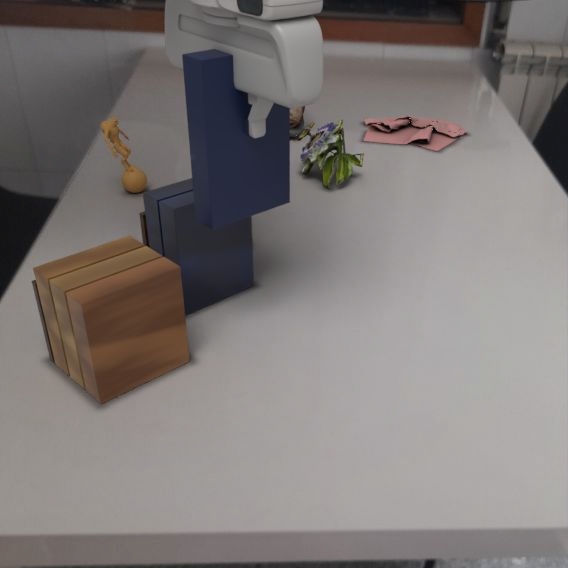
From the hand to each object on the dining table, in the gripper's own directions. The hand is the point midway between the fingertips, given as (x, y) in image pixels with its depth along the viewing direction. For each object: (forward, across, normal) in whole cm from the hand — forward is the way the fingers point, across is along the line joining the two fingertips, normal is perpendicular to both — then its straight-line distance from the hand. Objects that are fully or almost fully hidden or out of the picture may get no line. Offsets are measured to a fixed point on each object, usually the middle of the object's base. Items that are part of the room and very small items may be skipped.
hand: (241, 130), depth 74 cm
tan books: (+23, -3, -16) cm, 28 cm away
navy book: (+9, 0, 0) cm, 9 cm away
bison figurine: (+23, -48, +50) cm, 73 cm away
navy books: (+23, -9, 0) cm, 25 cm away
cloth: (+23, -32, +69) cm, 80 cm away
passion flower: (+23, -26, +40) cm, 53 cm away
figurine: (+23, -42, +10) cm, 49 cm away
